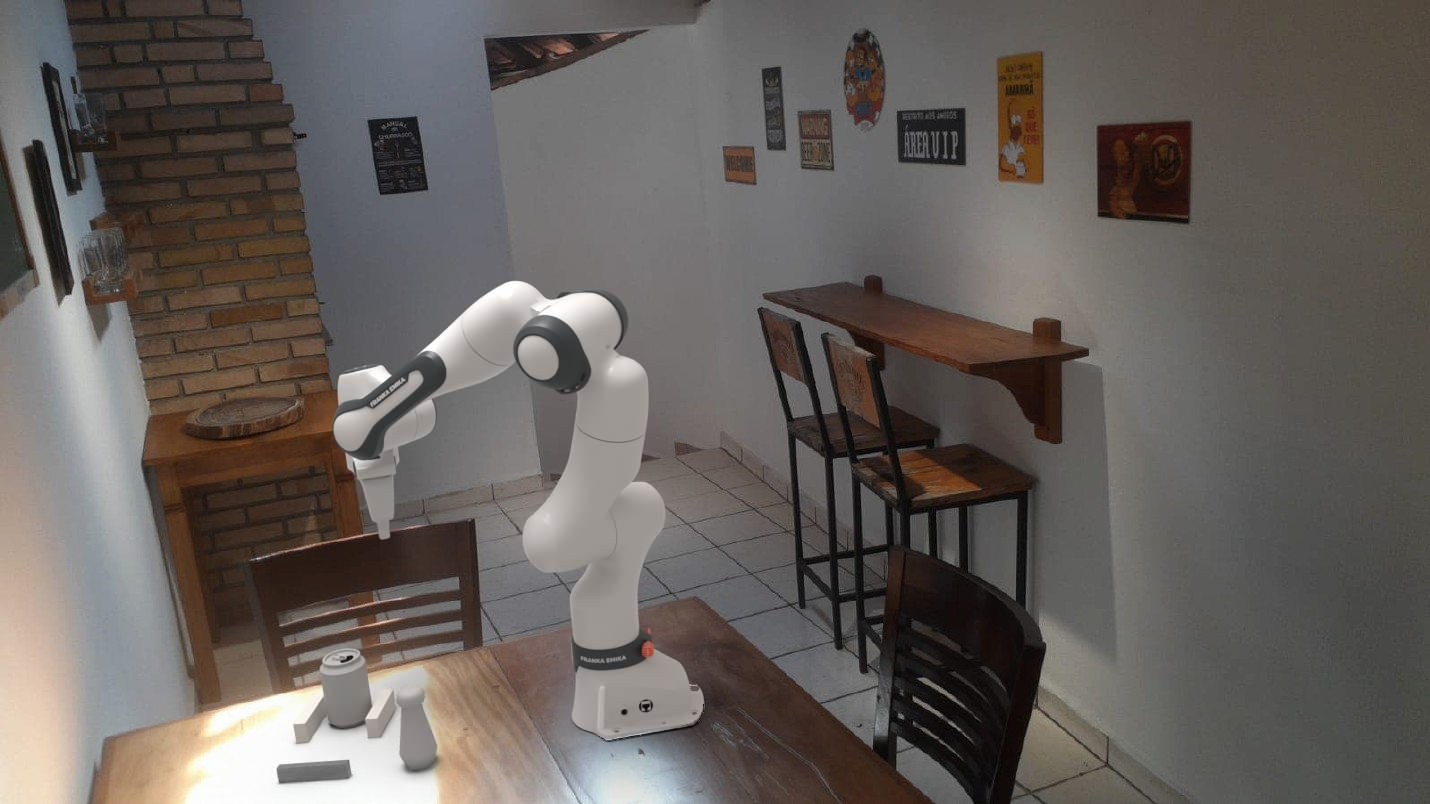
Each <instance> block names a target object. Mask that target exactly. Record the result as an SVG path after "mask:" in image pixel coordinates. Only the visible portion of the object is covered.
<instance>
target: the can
mask: <svg viewBox="0 0 1430 804" xmlns="http://www.w3.org/2000/svg"><path fill="white" fill-rule="evenodd" d="M321 663H322V664H321V665H320V666H319V675H320V681H321V686H322V687H321V688H322V694H324V700H325V706H326V712H327V714H326V718H327V721H328V722H329V724H331V725H333V726H335V727H337V728H343V729H344V728H345V729H346V728H351V727H355V726H359V725H361V724H363V723H364V722H365V719H366V717H367V715H368V713H369V712H370V710H371V708H372V706H373V702H372V696H371V695H372V693H371V689H370V682H369V677H368V676H369V675H368V668H367V662H366V659H365V657H364V656H363V655H361V651H360V650H358V649H356V648H351V647H350V648H342V649H337V650H334V651H331V652H329V653H327V654H325V656H324V657H323V658H322V659H321Z"/></svg>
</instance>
